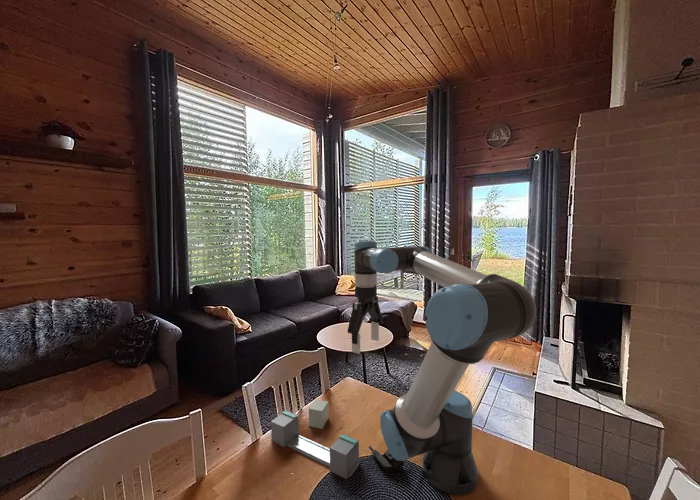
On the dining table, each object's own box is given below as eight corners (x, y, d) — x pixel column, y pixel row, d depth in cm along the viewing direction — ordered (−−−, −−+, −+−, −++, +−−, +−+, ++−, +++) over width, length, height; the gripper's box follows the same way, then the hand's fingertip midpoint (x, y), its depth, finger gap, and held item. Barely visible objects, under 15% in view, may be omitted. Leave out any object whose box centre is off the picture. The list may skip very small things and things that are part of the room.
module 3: (358, 462, 90) (358, 438, 90) (346, 479, 84) (345, 453, 84) (343, 455, 93) (343, 432, 93) (330, 471, 87) (329, 446, 87)
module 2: (328, 420, 111) (328, 401, 111) (322, 430, 105) (322, 411, 105) (315, 417, 112) (315, 399, 112) (309, 427, 107) (308, 408, 106)
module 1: (298, 435, 103) (298, 414, 102) (283, 448, 97) (283, 425, 96) (286, 429, 106) (286, 409, 105) (271, 441, 100) (271, 420, 99)
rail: (358, 465, 89) (358, 461, 89) (349, 477, 85) (349, 473, 85) (283, 431, 105) (283, 427, 105) (272, 439, 101) (272, 435, 101)
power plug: (364, 442, 94) (387, 468, 83) (382, 424, 97) (406, 447, 86) (371, 455, 95) (394, 482, 85) (388, 437, 98) (413, 461, 88)
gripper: (372, 279, 117) (373, 333, 119) (336, 290, 96) (336, 356, 97) (390, 281, 113) (390, 337, 115) (356, 293, 92) (357, 361, 93)
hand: (366, 346), depth 106 cm, fingers open, 13 cm apart
